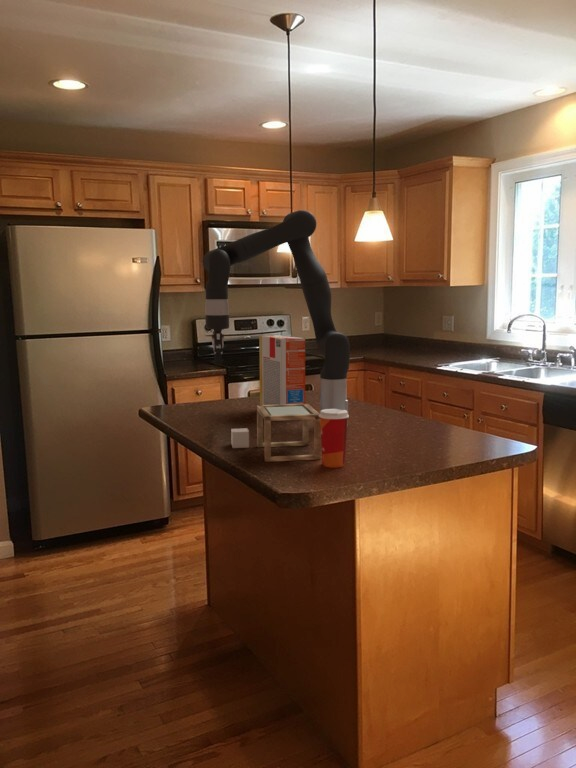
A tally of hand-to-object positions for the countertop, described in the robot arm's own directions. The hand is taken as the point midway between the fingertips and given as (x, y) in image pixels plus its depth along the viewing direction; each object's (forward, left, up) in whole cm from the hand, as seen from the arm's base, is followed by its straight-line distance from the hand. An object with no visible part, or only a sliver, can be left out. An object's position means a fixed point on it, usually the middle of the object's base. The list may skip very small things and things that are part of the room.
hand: (218, 364), depth 209 cm
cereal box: (-26, -37, -24) cm, 51 cm away
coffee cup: (-28, +40, -24) cm, 55 cm away
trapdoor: (-19, +24, -12) cm, 33 cm away
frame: (-18, +24, -24) cm, 39 cm away
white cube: (-5, +13, -24) cm, 28 cm away
